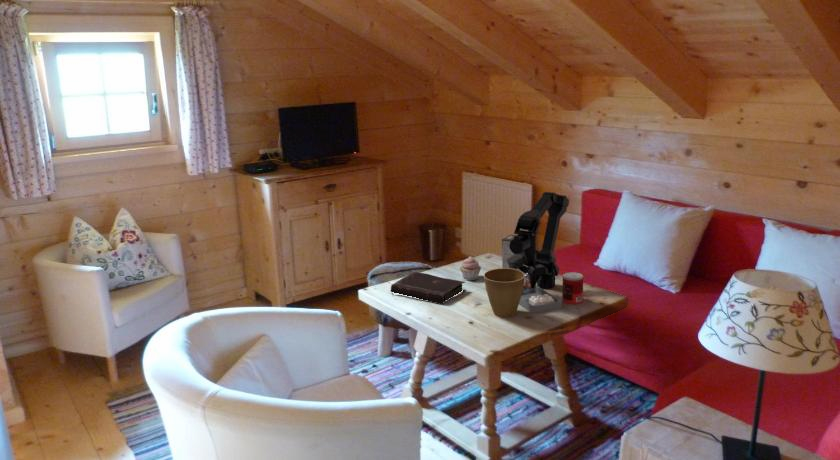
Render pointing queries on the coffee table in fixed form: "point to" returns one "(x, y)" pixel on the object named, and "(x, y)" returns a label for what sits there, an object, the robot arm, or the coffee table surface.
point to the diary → (427, 287)
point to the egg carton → (540, 299)
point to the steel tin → (528, 285)
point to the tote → (540, 307)
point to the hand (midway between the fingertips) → (528, 285)
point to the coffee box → (507, 251)
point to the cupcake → (470, 269)
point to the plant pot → (504, 290)
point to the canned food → (572, 288)
